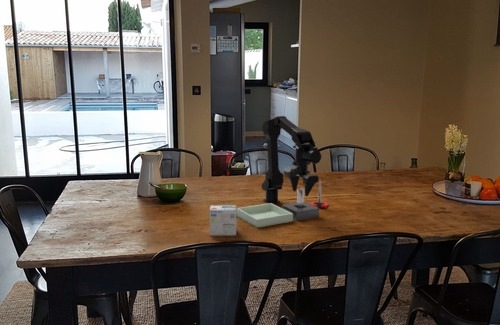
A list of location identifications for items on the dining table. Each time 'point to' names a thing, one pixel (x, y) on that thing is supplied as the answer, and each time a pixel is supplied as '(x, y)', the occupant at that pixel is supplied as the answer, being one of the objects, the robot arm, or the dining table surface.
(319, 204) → the tow hook
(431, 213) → the dining table surface
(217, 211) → the light bulb box
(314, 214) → the hitch block
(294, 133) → the robot arm
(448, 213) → the dining table surface
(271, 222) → the tray
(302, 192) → the pin
